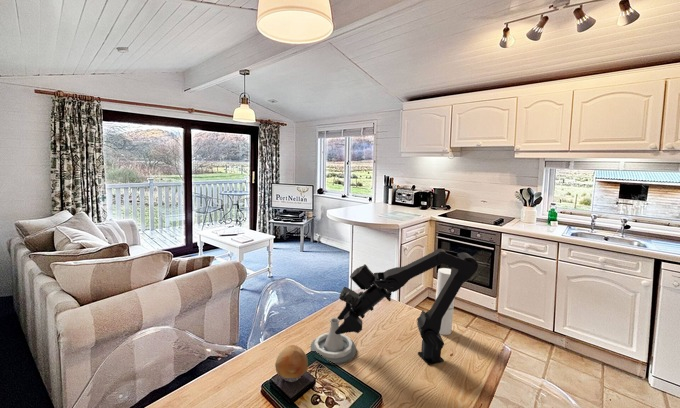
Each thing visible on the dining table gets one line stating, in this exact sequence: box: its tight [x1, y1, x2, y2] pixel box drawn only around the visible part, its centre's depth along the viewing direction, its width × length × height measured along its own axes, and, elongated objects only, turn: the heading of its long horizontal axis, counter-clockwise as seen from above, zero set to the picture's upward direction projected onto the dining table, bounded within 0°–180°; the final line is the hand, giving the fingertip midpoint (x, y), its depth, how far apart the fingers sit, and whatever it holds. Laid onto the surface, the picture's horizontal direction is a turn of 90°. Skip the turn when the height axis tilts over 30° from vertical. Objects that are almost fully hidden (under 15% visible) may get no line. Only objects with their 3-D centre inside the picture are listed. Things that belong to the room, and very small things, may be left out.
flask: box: [323, 317, 344, 352], centre depth 109 cm, size 7×7×10 cm
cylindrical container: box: [435, 267, 456, 336], centre depth 124 cm, size 7×7×25 cm
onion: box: [274, 344, 309, 378], centre depth 94 cm, size 10×10×10 cm
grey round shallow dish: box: [310, 332, 357, 365], centre depth 109 cm, size 16×16×3 cm
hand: (336, 326), depth 108 cm, fingers open, 9 cm apart
